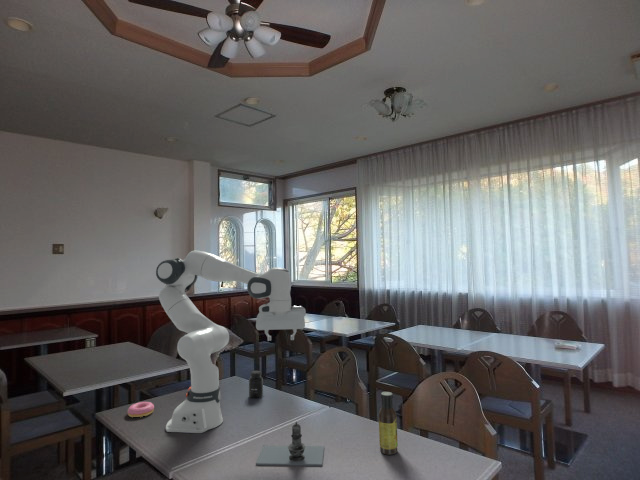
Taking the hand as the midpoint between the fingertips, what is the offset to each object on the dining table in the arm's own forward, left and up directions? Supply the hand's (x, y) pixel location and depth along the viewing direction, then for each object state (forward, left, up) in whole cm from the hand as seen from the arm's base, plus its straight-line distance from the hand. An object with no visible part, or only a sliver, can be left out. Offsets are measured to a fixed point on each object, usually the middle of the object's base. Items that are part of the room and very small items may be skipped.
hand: (280, 340), depth 161 cm
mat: (+4, -26, -34) cm, 43 cm away
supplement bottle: (-14, +32, -34) cm, 49 cm away
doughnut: (-63, +17, -34) cm, 74 cm away
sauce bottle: (+38, -26, -34) cm, 57 cm away
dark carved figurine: (+6, -28, -34) cm, 44 cm away
